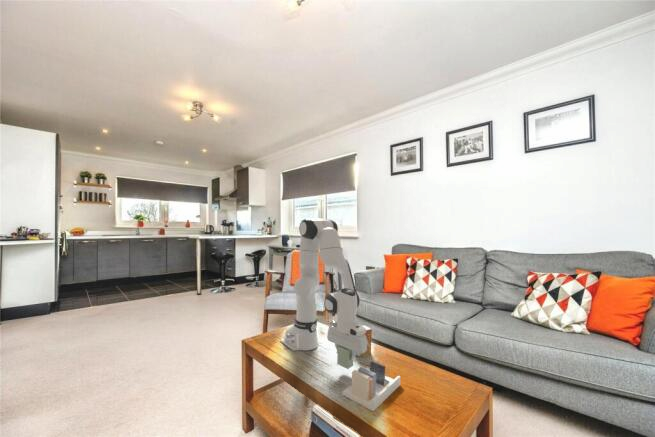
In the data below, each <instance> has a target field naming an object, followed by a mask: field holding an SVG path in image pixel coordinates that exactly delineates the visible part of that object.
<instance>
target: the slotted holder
mask: <svg viewBox="0 0 655 437" xmlns="http://www.w3.org/2000/svg"><path fill="white" fill-rule="evenodd" d="M400 386H401V376H400V375H397V376H395V378H392V377H390V376H388V375H387V376H386V365H383V364H381V363H378V362H375V361H373V360H369V369H367V368H365V367H362V366H360V367H359V368H358V369H357V370H356V369H354V370H353V371H352V372H351V385H349V386H347V387H346V388H345V389H344V390H342V395H343V396H344V397H347V398H348V399H350V400H352V401H354V402H355V403H357V404H359V405H361V406H363V407H364V408H366V409H369V410H370V411H372V412H374V411H375V410H376V409H378V407H380V405H382V403H384V402H385V401H386V400H387V398H389V397H390V396H391V395H392V394H393V393H394V392H395V391H396V390H397V389H398V388H399V387H400Z"/></svg>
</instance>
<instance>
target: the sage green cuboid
mask: <svg viewBox="0 0 655 437" xmlns="http://www.w3.org/2000/svg"><path fill="white" fill-rule="evenodd" d="M352 354H353V353H352V350H350V349H347V348H345V347H342V346H340V345H339V346H338V354H337V361H336V364H337V366H340V367H343V368H345V369H347V370H349V369H350V368H352V367H353V366H354V360H351V359H350V355H352Z"/></svg>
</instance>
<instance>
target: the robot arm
mask: <svg viewBox="0 0 655 437" xmlns="http://www.w3.org/2000/svg"><path fill="white" fill-rule="evenodd" d="M298 229H299V230H298V231H299V234H300V236H301V238H300V244H299V254H298V256H299V257H298V265H299V269H300V270H299V271H300V277H299V278H297V280H296V281H295V282H294V285H293V291H294V295H295V301H296V302H295V303H296V317H295V318H294V319H293V322H294V323H293V325H291V326H290V327H289V328H287V329H286V330H285V334H284V336H283V337H281V338H280V342H281V343H282V344H284V345H285V346H287V347H288V348H289V349H290V350H291V351H295V352H296V351H311V350H315V349H317V347H318V346H319V342H318V341H319V339H318V334H317V333H318V332H317V330H318V329H317V326H318V319H317V303H316V290H317V289H318V288H319V286H320V270H319V268H320V267H319V260H320V261H321V262H322V264H324V266H326V267H328V268H330V269H332V270H335V271H336V272H338V273H339V275H340V276H341V280H342V281H341V282H342V285H343V288H341V289H339V291H336V292H331V293H328V294H327V295H326V296H325V298H324V301H323V302H324V305H323V306H324V308H325V311H326V312H327V313H329V314H332V315H337V319H336V320H337V321H334V320H331V321H329V323H328V330H327V336H326V338H327V341H329V342H331V343H333V344H334V346H335V349H336V354H337V355H338V346H339V345H340V346H342V347H345V348H347V349H350V350H352V353H353V354H352V355H350V359H351V360H353V361H354V360H355V358H356V356H357V355H356V353H359V354H363V353H364V352H366V350H367V338H366V335H365V333H366V329H365V328H364V327H363V325H362V324H360V323H359V321H358V319H357V312H358V308H359V306H360V301H361V300H360V296H359V293H358V292H357V289H356V286H355V282H354V278H353V274H352V273H353V272H352V270H351V266H350V263H349V261H348V260H347V259H346V258H345V257H344V253H343V251H342V245H341V239H340V236H339V233H338V231H339V228H338V224H337V223H336V221H334V220H332V219H325V218H304V219H302V220H301V222H300V223H299V227H298ZM319 258H320V259H319Z"/></svg>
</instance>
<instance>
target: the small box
mask: <svg viewBox="0 0 655 437" xmlns="http://www.w3.org/2000/svg"><path fill="white" fill-rule="evenodd" d="M362 326H363V327H364V328H365V329H366V333H365V335H366V338H367V350H366V352H364V353H363V354H359V353H356V355H355V356H357V357H359V358H360V357H363V356H367V355H370V354H371V353H372V331H373V330H372V328H371V327H369V326H366V325H362Z"/></svg>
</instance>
